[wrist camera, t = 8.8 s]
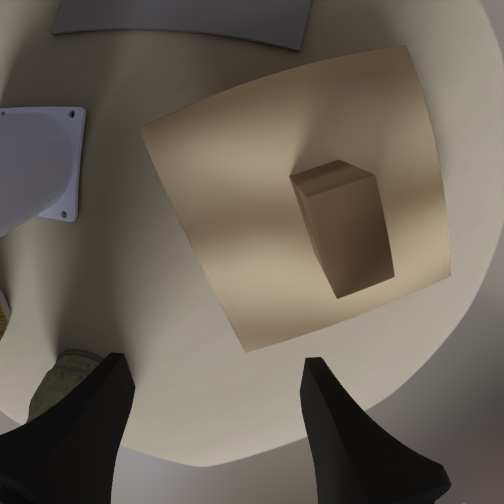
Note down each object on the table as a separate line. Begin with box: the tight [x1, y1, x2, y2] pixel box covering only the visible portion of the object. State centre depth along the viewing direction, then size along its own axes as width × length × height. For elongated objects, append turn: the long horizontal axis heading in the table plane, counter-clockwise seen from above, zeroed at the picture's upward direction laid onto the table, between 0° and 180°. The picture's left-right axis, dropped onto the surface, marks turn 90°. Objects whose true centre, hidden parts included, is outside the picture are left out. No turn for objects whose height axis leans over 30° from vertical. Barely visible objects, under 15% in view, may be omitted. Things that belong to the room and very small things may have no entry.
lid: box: [139, 45, 451, 352], centre depth 12 cm, size 13×13×5 cm
